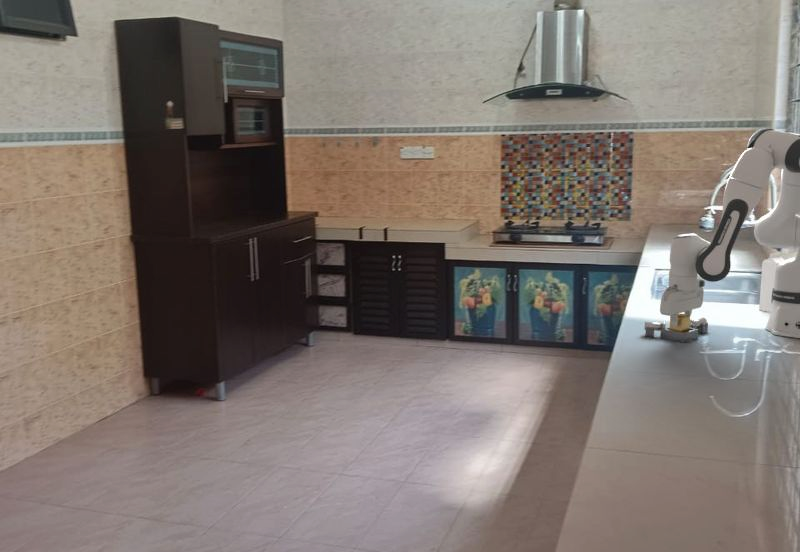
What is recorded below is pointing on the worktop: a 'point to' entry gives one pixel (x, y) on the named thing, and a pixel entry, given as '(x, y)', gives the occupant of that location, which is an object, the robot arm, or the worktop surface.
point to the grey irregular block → (699, 325)
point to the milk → (768, 280)
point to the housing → (679, 335)
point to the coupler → (681, 323)
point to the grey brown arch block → (653, 328)
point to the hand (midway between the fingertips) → (680, 324)
